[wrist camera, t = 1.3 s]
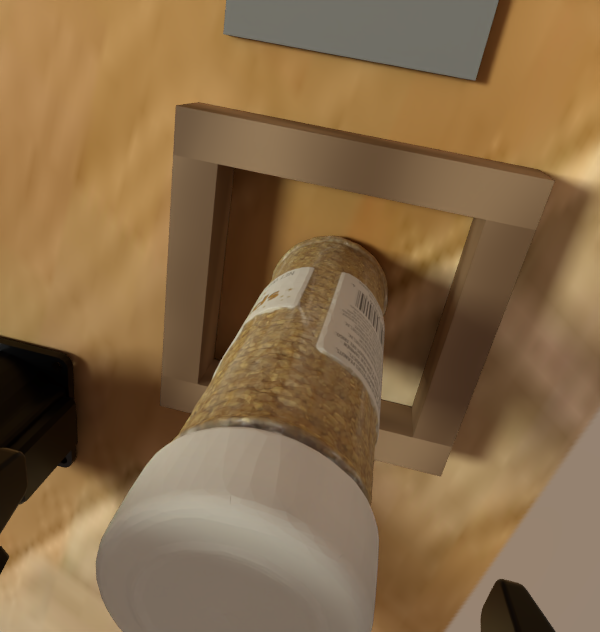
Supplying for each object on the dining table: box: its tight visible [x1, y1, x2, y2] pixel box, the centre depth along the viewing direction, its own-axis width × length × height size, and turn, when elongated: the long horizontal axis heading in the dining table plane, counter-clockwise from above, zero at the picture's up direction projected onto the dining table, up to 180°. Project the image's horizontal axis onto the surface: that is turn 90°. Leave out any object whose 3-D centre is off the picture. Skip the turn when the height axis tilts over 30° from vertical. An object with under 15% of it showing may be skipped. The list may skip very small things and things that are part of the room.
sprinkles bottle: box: [96, 236, 388, 632], centre depth 14 cm, size 5×5×14 cm
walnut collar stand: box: [160, 102, 555, 477], centre depth 19 cm, size 12×12×2 cm
